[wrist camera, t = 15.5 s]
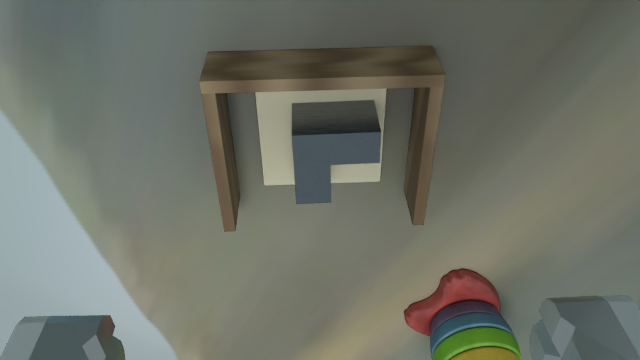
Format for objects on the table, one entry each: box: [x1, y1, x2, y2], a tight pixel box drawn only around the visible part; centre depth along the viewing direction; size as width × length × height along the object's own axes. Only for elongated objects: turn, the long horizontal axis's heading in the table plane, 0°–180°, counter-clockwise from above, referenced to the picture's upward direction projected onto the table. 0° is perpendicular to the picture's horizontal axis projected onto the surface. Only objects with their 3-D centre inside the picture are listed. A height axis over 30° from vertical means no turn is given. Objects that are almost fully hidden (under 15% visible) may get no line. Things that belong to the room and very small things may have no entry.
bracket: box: [292, 100, 381, 204], centre depth 46 cm, size 7×7×5 cm
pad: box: [255, 89, 387, 185], centre depth 48 cm, size 11×11×1 cm
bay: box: [199, 46, 446, 232], centre depth 46 cm, size 18×15×5 cm
